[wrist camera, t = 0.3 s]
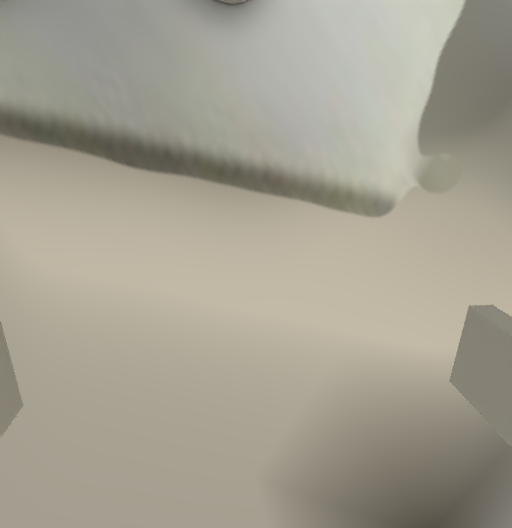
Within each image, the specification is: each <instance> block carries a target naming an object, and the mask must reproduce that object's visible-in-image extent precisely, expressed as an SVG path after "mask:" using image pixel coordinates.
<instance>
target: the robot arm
mask: <svg viewBox="0 0 512 528" xmlns="http://www.w3.org/2000/svg"><path fill="white" fill-rule="evenodd" d="M450 382H451V383H452V384H453V385H454V386H455V387H456V388H457V389H458V391H459V392H460V393H461V394H462V395H463V396H464V397H465V398H466V399H467V400H468V401H469V402H470V404H471V405H472V406H473V407H474V408H475V409H476V410H477V411H478V412H479V413H480V414H481V415H482V416H483V417H484V419H485V420H486V421H487V422H488V423H489V424H490V425H491V426H492V427H493V428H494V429H495V430H496V431H497V432H498V434H499V435H500V436H501V437H502V438H503V439H504V440H505V441H506V442H507V443H508V444H509V445H510V446H511V447H512V317H510V316H509V315H508V314H506V313H505V312H503V311H501V310H500V309H498V308H497V307H495V306H493V305H475V306H469V308H468V312H467V316H466V320H465V323H464V327H463V331H462V335H461V338H460V343H459V347H458V351H457V354H456V358H455V362H454V366H453V369H452V373H451V378H450ZM22 407H23V403H22V400H21V395H20V392H19V388H18V384H17V380H16V377H15V373H14V369H13V365H12V362H11V358H10V354H9V351H8V347H7V343H6V339H5V336H4V332H3V328H2V324H1V322H0V438H1V437H2V435H3V434H4V432H5V431H6V429H7V428H8V427H9V425H10V424H11V422H12V421H13V420H14V418H15V417H16V415H17V414H18V412H19V411H20V409H21V408H22Z"/></svg>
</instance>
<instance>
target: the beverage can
mask: <svg viewBox="0 0 512 528" xmlns="http://www.w3.org/2000/svg"><path fill="white" fill-rule="evenodd" d="M219 1H222V2H225V3H231V4H236V3H242V2H245V1H247V0H219Z"/></svg>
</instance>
